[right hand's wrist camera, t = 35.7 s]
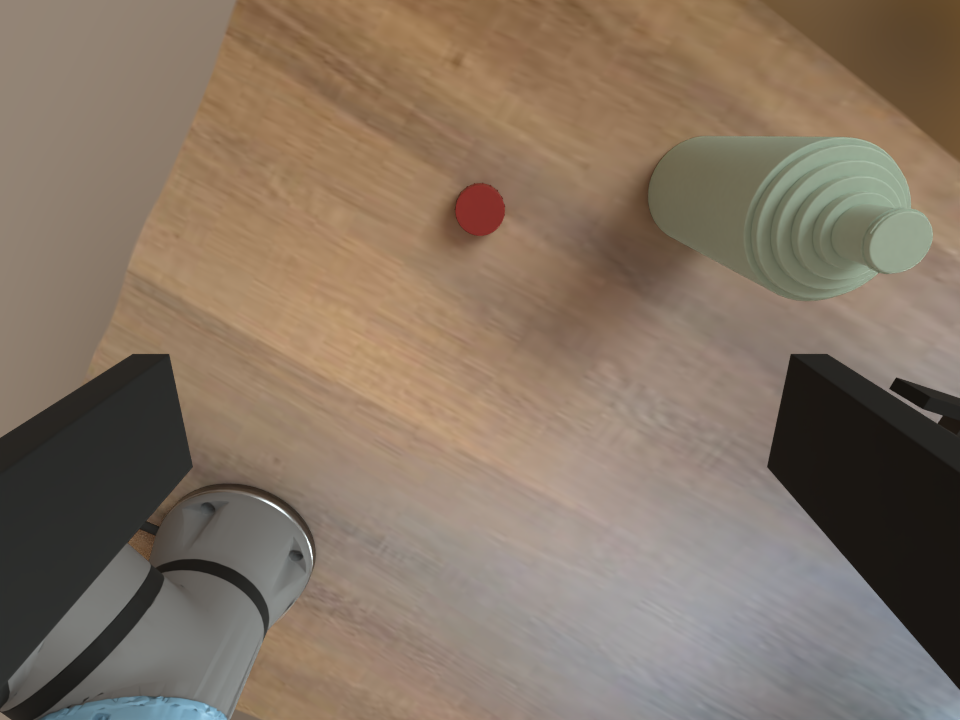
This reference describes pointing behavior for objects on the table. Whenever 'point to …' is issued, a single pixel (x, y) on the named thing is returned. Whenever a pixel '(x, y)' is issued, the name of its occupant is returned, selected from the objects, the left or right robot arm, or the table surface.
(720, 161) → the bottle
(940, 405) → the left robot arm
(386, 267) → the table surface
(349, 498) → the table surface
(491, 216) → the cap
